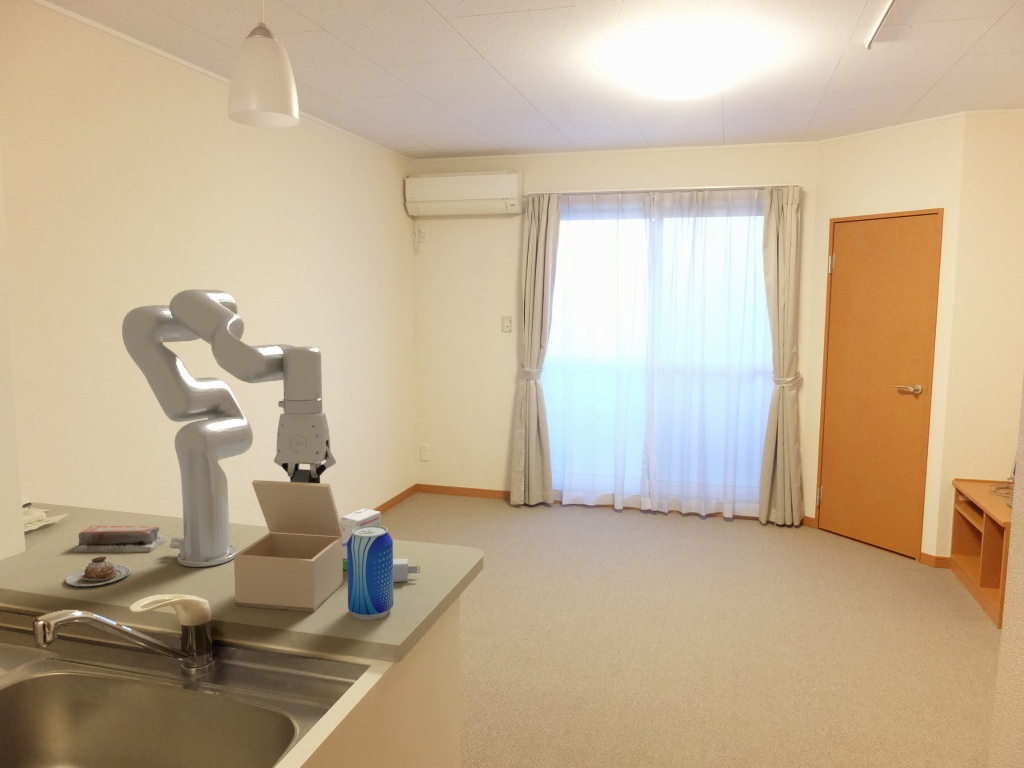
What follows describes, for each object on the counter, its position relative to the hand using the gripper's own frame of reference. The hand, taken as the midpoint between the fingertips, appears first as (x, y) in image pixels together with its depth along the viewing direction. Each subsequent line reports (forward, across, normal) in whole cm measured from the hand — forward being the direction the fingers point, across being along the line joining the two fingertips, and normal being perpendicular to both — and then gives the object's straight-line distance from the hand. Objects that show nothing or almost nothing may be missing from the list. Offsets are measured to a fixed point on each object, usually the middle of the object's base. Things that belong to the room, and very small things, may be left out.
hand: (305, 494), depth 149 cm
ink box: (+19, +8, +11) cm, 23 cm away
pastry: (+19, -44, -7) cm, 48 cm away
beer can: (+19, +19, -12) cm, 29 cm away
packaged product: (+19, -53, +12) cm, 58 cm away
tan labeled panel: (+2, 0, -4) cm, 4 cm away
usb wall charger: (+19, +20, +5) cm, 28 cm away
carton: (+19, 0, -7) cm, 20 cm away
